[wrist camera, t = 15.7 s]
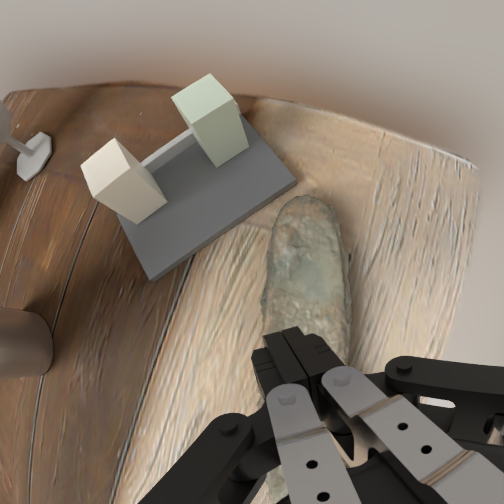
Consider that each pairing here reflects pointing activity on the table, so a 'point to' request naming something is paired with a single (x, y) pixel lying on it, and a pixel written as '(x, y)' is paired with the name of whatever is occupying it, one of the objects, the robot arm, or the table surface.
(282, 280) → the elongated rock
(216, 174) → the tile board
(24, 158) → the wineglass
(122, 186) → the white block
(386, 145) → the table surface
